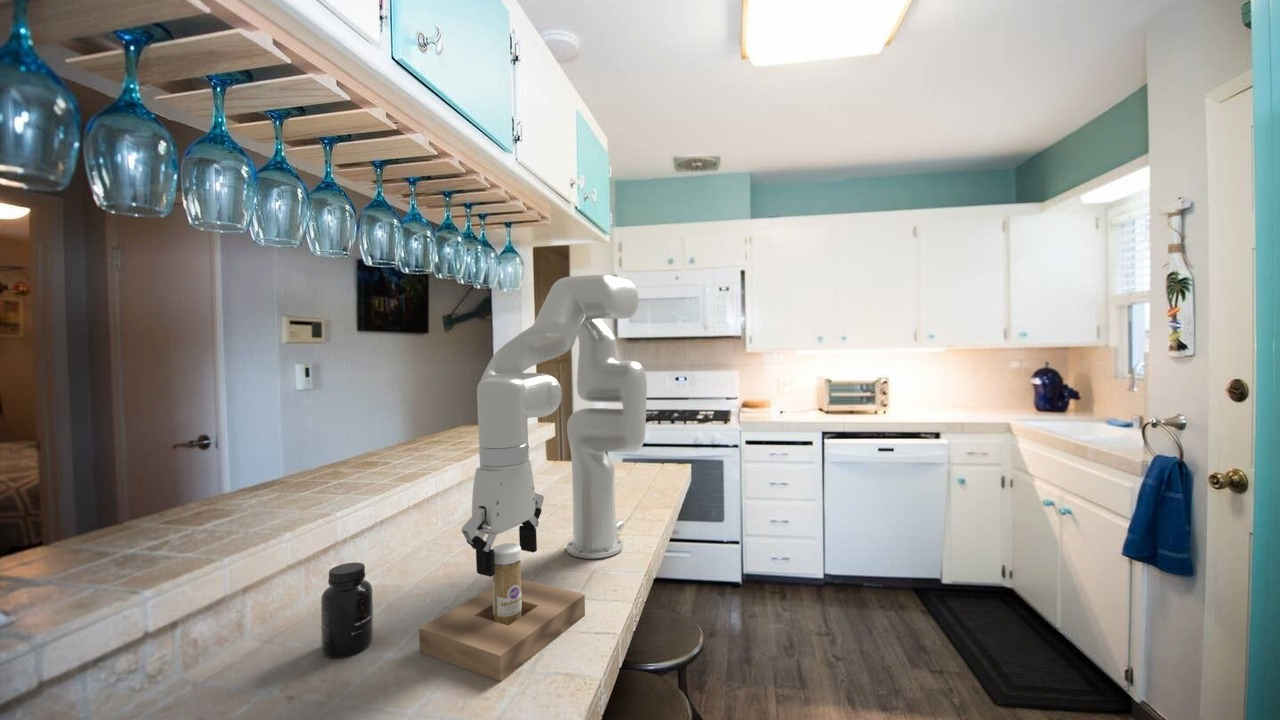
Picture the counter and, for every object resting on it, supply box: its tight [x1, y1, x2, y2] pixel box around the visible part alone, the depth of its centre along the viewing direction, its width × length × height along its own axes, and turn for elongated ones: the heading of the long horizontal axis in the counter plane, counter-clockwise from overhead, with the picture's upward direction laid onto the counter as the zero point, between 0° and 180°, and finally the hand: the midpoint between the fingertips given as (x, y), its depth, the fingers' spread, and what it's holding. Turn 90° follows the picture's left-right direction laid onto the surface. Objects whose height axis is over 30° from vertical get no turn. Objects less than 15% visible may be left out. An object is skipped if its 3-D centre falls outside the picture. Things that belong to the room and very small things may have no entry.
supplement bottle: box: [320, 562, 374, 659], centre depth 80 cm, size 7×7×12 cm
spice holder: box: [418, 578, 586, 682], centre depth 83 cm, size 20×16×4 cm
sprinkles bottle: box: [492, 542, 522, 626], centre depth 83 cm, size 5×5×13 cm
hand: (508, 561), depth 84 cm, fingers open, 9 cm apart
